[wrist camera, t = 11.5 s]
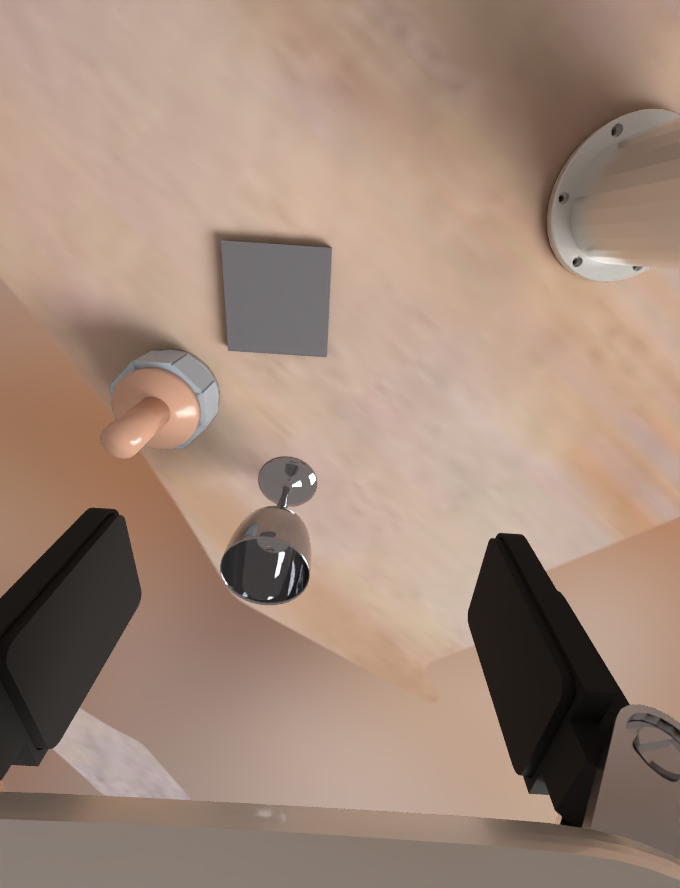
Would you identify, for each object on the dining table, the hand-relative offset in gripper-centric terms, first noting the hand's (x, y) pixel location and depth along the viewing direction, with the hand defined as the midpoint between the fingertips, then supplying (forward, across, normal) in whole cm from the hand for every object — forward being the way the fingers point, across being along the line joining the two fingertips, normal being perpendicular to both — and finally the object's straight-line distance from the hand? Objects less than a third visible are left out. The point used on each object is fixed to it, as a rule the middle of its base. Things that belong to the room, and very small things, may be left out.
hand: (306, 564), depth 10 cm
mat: (+33, +6, -2) cm, 34 cm away
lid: (+28, +17, +8) cm, 34 cm away
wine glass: (+34, +5, +19) cm, 39 cm away
